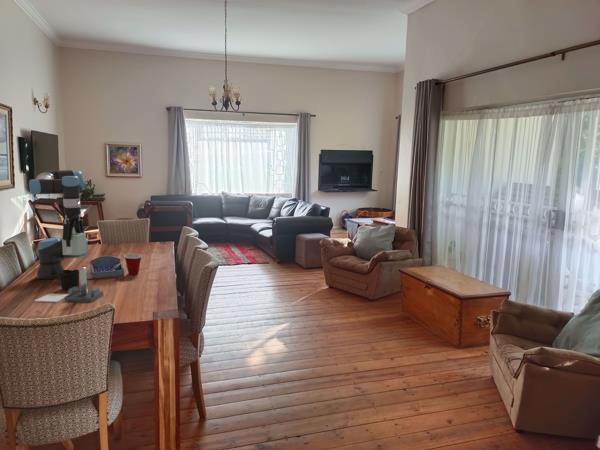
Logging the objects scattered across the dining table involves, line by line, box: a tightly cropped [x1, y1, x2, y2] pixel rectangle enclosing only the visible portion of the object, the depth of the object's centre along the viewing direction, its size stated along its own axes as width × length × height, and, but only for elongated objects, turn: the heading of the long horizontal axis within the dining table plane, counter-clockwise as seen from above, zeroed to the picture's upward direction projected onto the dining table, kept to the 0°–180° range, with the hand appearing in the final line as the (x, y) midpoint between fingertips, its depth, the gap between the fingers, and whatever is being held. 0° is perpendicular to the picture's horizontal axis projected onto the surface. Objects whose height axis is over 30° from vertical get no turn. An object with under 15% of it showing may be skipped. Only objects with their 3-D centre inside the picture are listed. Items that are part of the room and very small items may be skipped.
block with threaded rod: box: [63, 266, 104, 303], centre depth 227 cm, size 14×12×16 cm
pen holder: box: [59, 269, 80, 291], centre depth 244 cm, size 9×9×10 cm
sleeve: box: [61, 232, 88, 255], centre depth 224 cm, size 8×8×10 cm
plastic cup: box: [123, 253, 143, 276], centre depth 276 cm, size 11×11×12 cm
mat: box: [34, 293, 68, 304], centre depth 226 cm, size 12×12×1 cm
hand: (74, 251), depth 224 cm, fingers closed on sleeve, 8 cm apart
